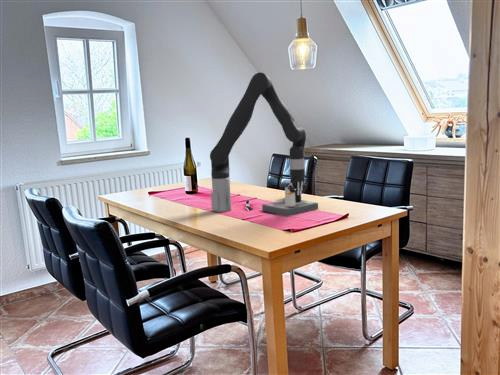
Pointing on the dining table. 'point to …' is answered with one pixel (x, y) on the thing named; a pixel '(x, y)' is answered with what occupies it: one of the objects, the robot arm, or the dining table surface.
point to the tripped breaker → (289, 199)
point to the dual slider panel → (286, 210)
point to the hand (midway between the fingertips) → (298, 202)
